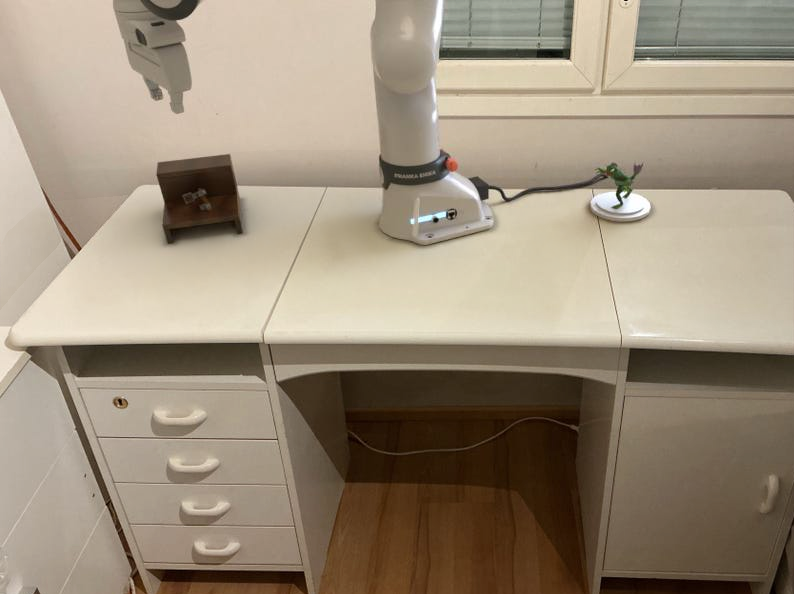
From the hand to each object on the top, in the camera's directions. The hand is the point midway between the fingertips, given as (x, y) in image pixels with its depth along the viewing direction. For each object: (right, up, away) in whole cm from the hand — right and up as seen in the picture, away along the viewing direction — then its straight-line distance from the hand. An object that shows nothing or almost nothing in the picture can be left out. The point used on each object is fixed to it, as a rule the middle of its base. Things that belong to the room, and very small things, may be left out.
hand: (167, 105), depth 139 cm
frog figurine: (+85, -15, +17) cm, 88 cm away
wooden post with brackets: (+2, -16, +11) cm, 20 cm away
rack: (+1, -18, +15) cm, 24 cm away
